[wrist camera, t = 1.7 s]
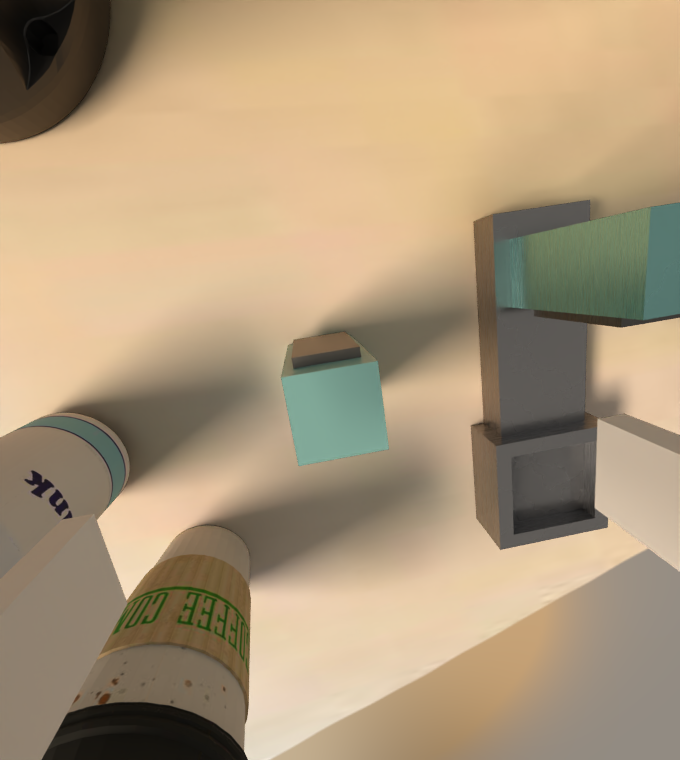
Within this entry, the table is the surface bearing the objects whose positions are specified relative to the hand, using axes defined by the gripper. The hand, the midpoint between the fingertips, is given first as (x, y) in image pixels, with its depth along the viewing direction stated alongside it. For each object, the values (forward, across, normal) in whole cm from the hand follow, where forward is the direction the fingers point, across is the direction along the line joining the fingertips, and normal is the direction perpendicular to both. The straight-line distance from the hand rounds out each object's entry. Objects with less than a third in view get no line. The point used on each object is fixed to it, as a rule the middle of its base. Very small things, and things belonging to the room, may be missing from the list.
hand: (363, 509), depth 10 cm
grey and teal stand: (+16, +14, -3) cm, 21 cm away
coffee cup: (+16, -11, -13) cm, 23 cm away
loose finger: (+16, 0, 0) cm, 16 cm away
